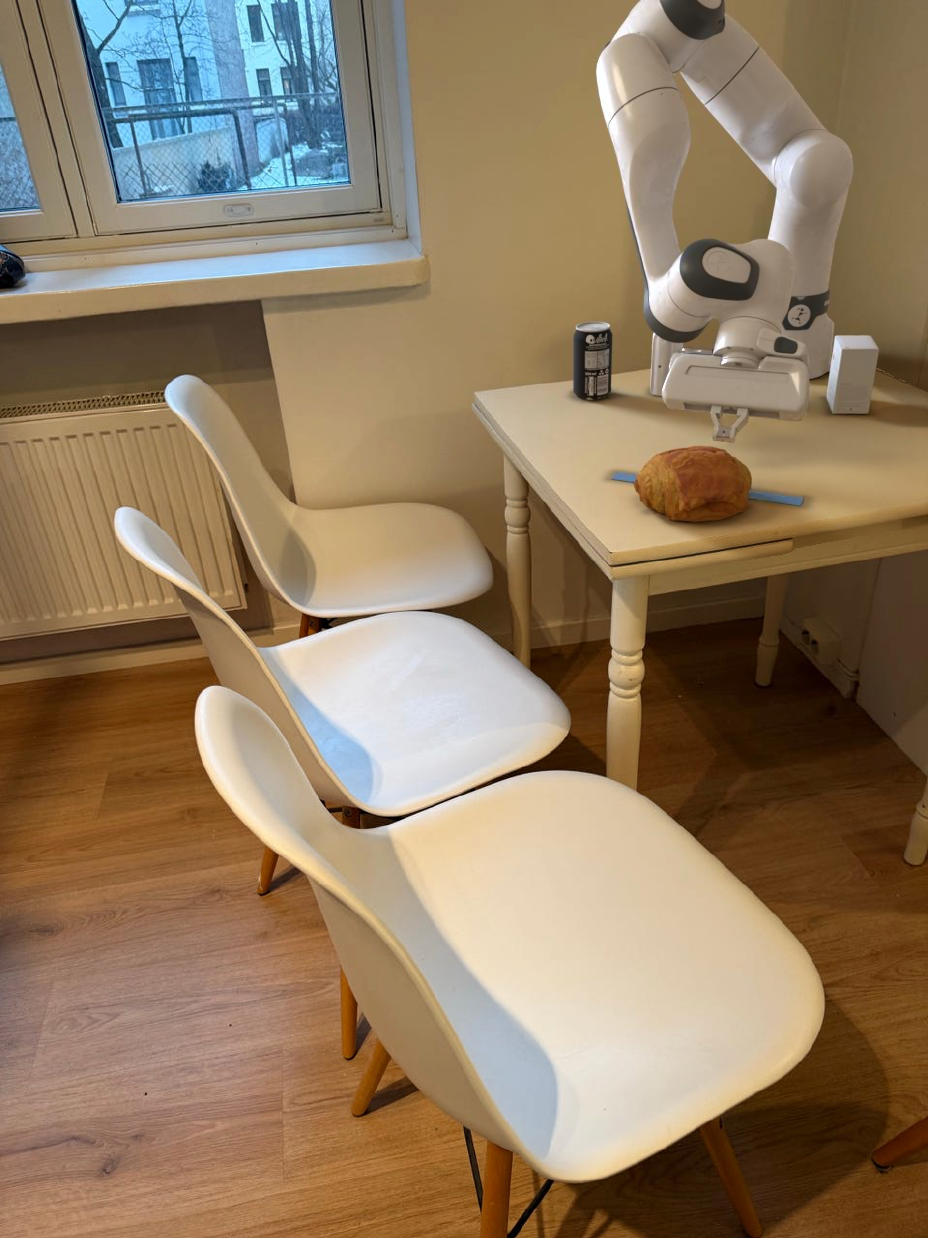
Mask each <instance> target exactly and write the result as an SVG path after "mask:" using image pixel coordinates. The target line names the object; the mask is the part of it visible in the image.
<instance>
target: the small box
mask: <svg viewBox="0 0 928 1238" xmlns="http://www.w3.org/2000/svg"><path fill="white" fill-rule="evenodd" d="M879 353H880V348H879V347H878V345H877V343H876V342H875V340H874V338H873V337H872V335H867V334H866V335H865V334H863V335H851V334H849V335H846V334H845V335H834V339H833V346H832V354H831V358H832V361H831V368H830V371H829V375H828V381H827V382H828V383H827V389H826V396H825V398H826V400H827V403H828V405H829V408H830V410H831V413H832V414H834V415H835V414H846V415H847V414H849V415H850V414H855V415H856V414H857V415H859V414H861V415H864V414H865V415H867V414H869V413H870V406H871V401H872V396H873V395H872V394H873V389H874V382H875V377H876V371H877V364H878V360H879V359H878V358H879Z"/></svg>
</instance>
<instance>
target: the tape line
mask: <svg viewBox="0 0 928 1238" xmlns="http://www.w3.org/2000/svg"><path fill="white" fill-rule="evenodd" d="M637 475H638V474H632V473H625V472H616V473H615V474H614V475H613V476H612V478H611V480H614V481H622V482H627V483H628V482H629V483H635V479H636V476H637ZM804 499H805V497H801V496H800V497H798V496H792V495H784V494H778V493H771V492H764V491H757V490H750V493H749V499H748V500H756V501H764V502H770V503H777V504H785V505H792V506H798V507H801V506H802V503H803V502H804Z"/></svg>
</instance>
